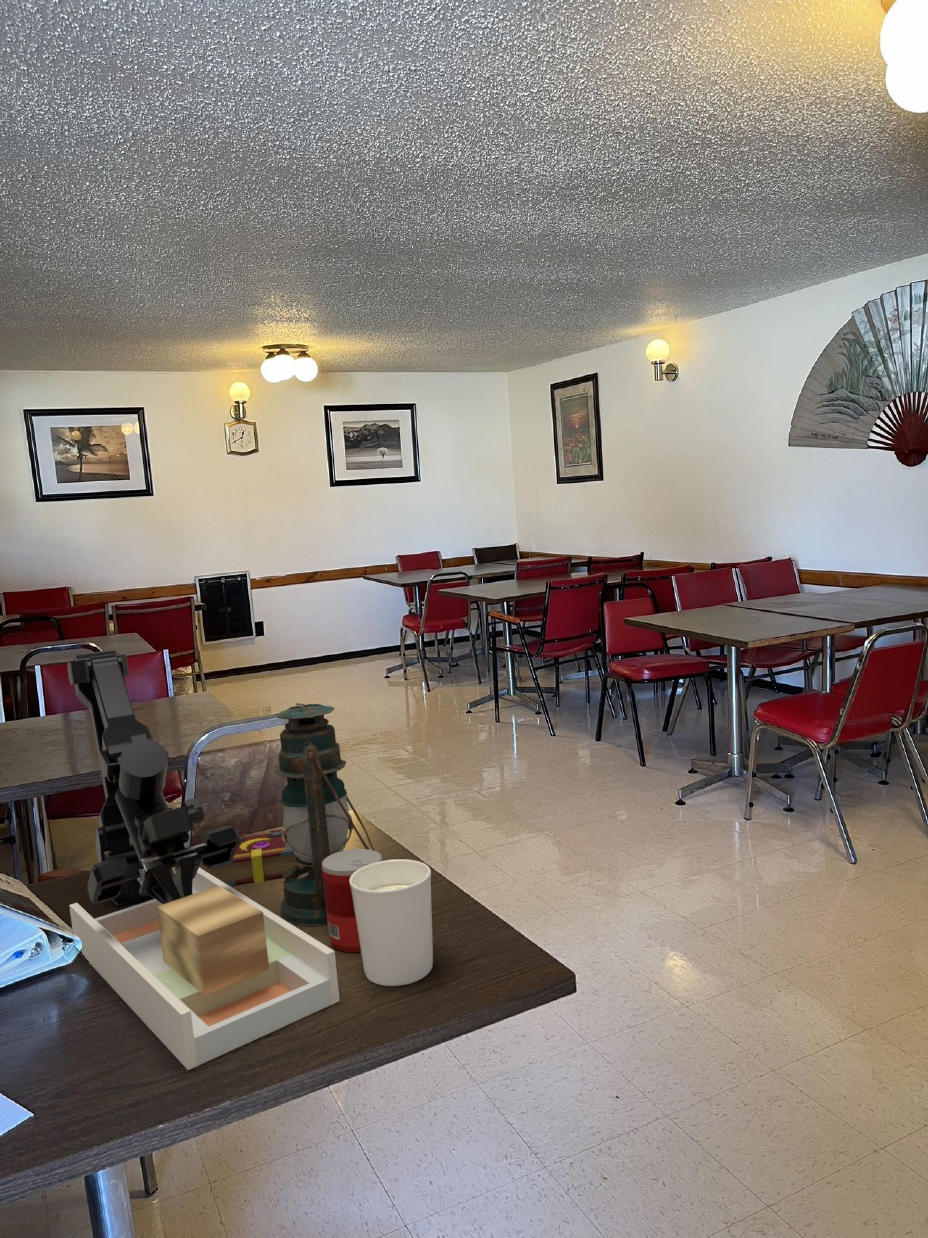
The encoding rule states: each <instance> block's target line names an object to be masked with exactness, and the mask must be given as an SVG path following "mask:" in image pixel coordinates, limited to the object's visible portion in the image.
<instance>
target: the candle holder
mask: <svg viewBox="0 0 928 1238" xmlns="http://www.w3.org/2000/svg"><path fill="white" fill-rule="evenodd" d="M431 870H432V869H431V868H430V866H428V865H427V864H426V863H424V862H422V861H419V860H414V859H403V858H402V859H400V858H399V859H387V860H383V861H381V862H376V863H373V864H369V865H367V866H364V867H362V868H360V869H358V870H357V871H355V872H354V873H353V874H352V875H351V877H350V880H349V883H350V886H351V892H352V898H353V904H354V910H355V917H356V923H357V929H358V936H359V942H360V948H361V952H360V953H361V960H362V965H363V970H364V974H365V977H366V978H367V979H368V980H369V981H370V982H371V983H374V984H376V985H379V986H384V987H399V986H405V985H410V984H413V983H416V982H417V981H420V980H422V979H424V978H425V977H427V975H429V973H431V971H432V969H433V965H434V964H433V963H434V952H433V951H434V948H433V919H432V917H433V915H432V913H433V911H432V910H433V909H432V886H431V885H432V884H431V882H432V881H431V880H432V879H431V878H432V871H431Z"/></svg>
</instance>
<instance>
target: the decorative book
mask: <svg viewBox="0 0 928 1238" xmlns="http://www.w3.org/2000/svg"><path fill="white" fill-rule="evenodd" d="M284 831H285V830H284ZM284 831H283V832H284ZM283 835H284V833H283ZM239 836H240V839H241V841H240V843H239V846H238V848H237V850H236V853H235V855H234V857H233V859H232V860H231V861H229V862H228V863H225V864H222V865H218V866H215V867H212V868H211V875H212V876H214V877H216V878H217V879H219V880H220V881H222V882H224V883H225V884H227V885H228V886H230V887H233V886H234V887H235V886H236V885H239V884H247V883H252V882H253V883H254V884H258V883H264V882H265V880H271V879H276V878H283V879H285V878H284V877H283V876H284V874H285V873H286V872H287V871H288V870H289V869H291V868H292V867H294V866H298V867H299V869H300V868H302V867H303V866H300V865H298V864H297V863H296V861H295V858H296V857H297V856H296V855H295V854H294V852H293V851H292V850H290V849H289V848H288V847H287V846H286V845H285V843H284V841H283V840H282V832H281V829H273V830H270V832H269V833H268V832H267V833H263V834H256V835H249V836H244V834H242V835H240V834H239ZM285 840H286V842H287V844H288V840H287V839H286V838H285ZM288 845H289V844H288ZM297 862H298V863H300V862H299V861H297ZM300 864H301V863H300ZM303 865H306V864H303ZM207 869H210V868H209V867H207Z"/></svg>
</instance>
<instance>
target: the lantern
mask: <svg viewBox="0 0 928 1238" xmlns="http://www.w3.org/2000/svg"><path fill="white" fill-rule="evenodd" d="M334 709H335V707H333V706H329V705H323V704H320V703H319V704H318V703H308V704H304V703H298V702H297V703H295V706H290V707H289V708H287V709H285V710H282V711H280V712H278V713H276V717H277V718H278V719H282V720H283V719H284V720H288V722H286V723H285V724H284V729H283V730H282V731H281V732H280V734H279V740H280V750H279V753H278V764H279V765H278V766H279V769H277V770H275V774H276V775H277V776H278V777H283V778H286V783H287V784H286V785H285V786H284V788H283V789H282V790H281V797H282V798H280V803H281V804H282V806H283V822H282V825H281V832H282V840H283V841H284V843H285V845H286V846H287V847H288V848H289V849H290V850H292V851H293V852H294V854H295V855H296V856H297V857H296V858H295V861H296V863H297V864H298V865H300V866H303V867H302V868H300V869H299V867H298V866H294V867H292V868H291V869H289V870H288V871H287V872H286V873H285V874H284V876H283V877H284V878H283V877H282V878H283V879H284V881H283V883H282V884H283V885H282V887H283V896H284V898H283V899H282V901H281V902H280V913H279V914H280V916H281V917H280V918H282V919H283V920H285V921H287V922H288V923H290V924H291V925H293V926H302V927H320V926H328V922H327V912H326V903H325V894H324V884H323V873H322V862H323V860H324V859H325V858H326V857H328V856H330V855H332V854H335V853H337V852H341V851H344V849H345V848H346V847H347V843H348V842H349V841H350V839H351V836H352V833H353V830H354V832H355V834H356V835H357V837H358V839H359V840H360V842H361V844H362V845H363V846H364V849H367V850H370V848H371V850H373V851H376V849H375V848H374V846H373V843H372V841H371V838H370V836H369V833H368V832H367V829H366V828H365V825H364V823H363V822H362V819H361V817H360V816H359V814H358V812H357V810H356V809H355V808H354V805H353V804H352V802H351V801H350V799H349V797H348V792H347V789H345V783H344V781H343V779H341V778H339V777H338V772H339V771H340V770H342V769H344V768H345V767H346V764H347V760H343V759H342V757H341V750H340V749H341V748H340V743H338V742H337V739H336V729H335V727H334V726H333V725H332V724H329V722H330V721H329V720H328V719H327V718H326V717H325V715H328V714H331V713H333V711H334ZM348 804H349V806H348ZM349 807H350V809H351V810H352V811H353V813H354V815H355V817H356V819H357V820H358V822H359V824H360V825H361V827H362V829H363V832H364V834H365V835H366V838H367V841H368V844H369V846H370V848H369V847H368V845H367V844H366V841H365V839H363V837H362V836H361V834H360V832H359V831H358V828H357V827H356V826H355V824H354V821H353V817H352V815H351V813H350V811H349ZM283 831H284V832H283ZM283 833H284V835H283ZM285 838H286V839H287V840H288V844H289V845H288V844H287V842H286V840H285ZM297 861H299V862H300V863H301V864H300V863H298V862H297ZM303 864H306V865H303Z"/></svg>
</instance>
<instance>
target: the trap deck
mask: <svg viewBox="0 0 928 1238" xmlns="http://www.w3.org/2000/svg"><path fill="white" fill-rule="evenodd" d="M216 886H220V887H222V888H224V889H225V890H227V891H229V892H230V893H232V894H234V895H235V896H237V897H239V898H240V899H242V900H244V901H246V902H247V903H249V904H251V905H252V906H254V907H256V908H257V909H259V910H261V911H262V912H263V916H264V926H265V935H266V944H267V953H268V962H269V969H267V970H265V971H263V972H260V973H258V974H255V975H253V976H251V977H248V978H246V979H244V980H241V981H239V982H236V983H234V984H232V985H229V986H227V987H224V988H222V989H220V990H217V991H215V992H213V993H210V994H208V995H204V994H202V993H201V992H200V991H199V990H198V989H196V988H195V987H194V986H193V985H192V984H190V983H189V982H188V981H187V980H186V979H184V978H183V977H182V976H181V975H180V974H178V973H177V972H176V971H175V970H174V969H172V968H171V967H170V966H169V965H167V964H166V963H165V962H164V960H163V951H162V943H161V935H160V927H159V919H158V911H157V906H160V905H163V904H162V903H160V902H159V901H157V900H156V899H154V898H153V899H151V900H147V901H145V902H142V903H139V904H136V905H132V906H129V907H127V908H124V909H123V908H122V909H121V910H117V911H114V912H111V913H108V914H105V915H101V916H99V917H96V918H94V917H93V916H92V915H91V914H89V913H88V912H87V910H86V909H84V908H83V907H82V906H81V905H80V904H79V903H78V902H75V903H74V902H73V903H71V904H69V913H70V920H71V928H72V933H73V932H74V934H75V935H77V936H78V937H79V938H80V940H81V942H82V951H81V952H82V954H83V955H84V956H85V958H86V959H87V960H88V961H89V962H88V961H87V960H86V959H85V958H84V959H85V960H86V961H87V962H88V963H89V964H90V965H91V966H92V967H93V968H94V970H95V971H96V972H97V973H98V974H99V975H100V976H101V977H102V978H103V979H104V980H105V982H106V983H107V984H108V985H109V986H110V987H111V988H112V989H113V990H114V992H116V994H117V995H118V996H119V997H120V999H122V1000H123V1001H124V1003H126V1005H127V1006H128V1007H129V1008H130V1009H131V1010H132V1011H133V1012H134V1013H135V1014H136V1015H137V1016H138V1017H139V1019H140V1020H141V1021H142V1022H143V1023H144V1024H145V1026H146V1027H147V1028H148V1029H149V1030H151V1032H152V1033H153V1035H155V1036H156V1037H157V1038H158V1039H159V1041H161V1043H162V1044H163V1045H164V1046H165V1047H166V1048H167V1049H168V1050H169V1051H170V1052H171V1054H172V1055H173V1056H174V1057H175V1058H176V1059H177V1060H178V1061H179V1062H180V1064H181V1065H183V1067H185V1069H186V1070H187V1071H190V1070H192V1069H194V1068H197V1067H199V1066H200V1065H203V1064H205V1063H207V1062H209V1061H211V1060H214V1059H216V1058H217V1057H218V1058H219V1057H220V1056H223V1055H224V1054H225V1055H226V1054H227V1053H229V1052H231V1051H233V1050H236V1049H237V1048H240V1047H242V1046H244V1045H246V1044H248V1043H251V1042H253V1041H255V1040H258V1039H259V1038H262V1037H264V1036H267V1035H268V1034H270V1033H273V1032H275V1031H278V1030H280V1029H281V1028H283V1027H286V1026H289V1025H291V1024H292V1023H295V1022H297V1021H299V1020H301V1019H304V1018H306V1017H308V1016H310V1015H312V1014H314V1013H317V1012H319V1011H321V1010H324V1009H325V1008H329V1006H332V1005H335V1004H336V1003H338V1002H340V1001H341V1000H340V992H339V981H338V972H337V960H336V951H335V950H333V949H332V948H330V947H329V946H327V945H325V944H324V943H322V942H320V941H319V940H317V939H316V938H314V937H312V936H311V935H309V934H308V933H306V932H304V931H303V930H301V929H300V928H298V927H296V925H294V924H291V923H289V922H287V921H285V920H284V919H283V918H282V917H280V916H279V915H277V914H275V913H273V912H272V911H271V910H269V909H267V908H266V907H265V906H263V905H261V904H259V903H257V902H256V901H254V900H253V899H251V898H250V897H248V896H246V895H245V894H243V893H241V892H240V891H239V890H236V889H235V888H233V886H228V885H227V884H225V883H224V882H222V881H220V880H219V879H217V878H216V877H214V876H212V873H211V874H210V873H209V872H207V871H206V870H205V869H203V868H201V867H199V868H198V871H197V873H196V876H195V878H194V879H193V881H192V894H195V893H198V892H201V891H204V890H207V889H210V888H213V887H216ZM82 954H81V955H82ZM83 955H82V956H83ZM84 956H83V957H84Z"/></svg>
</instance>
